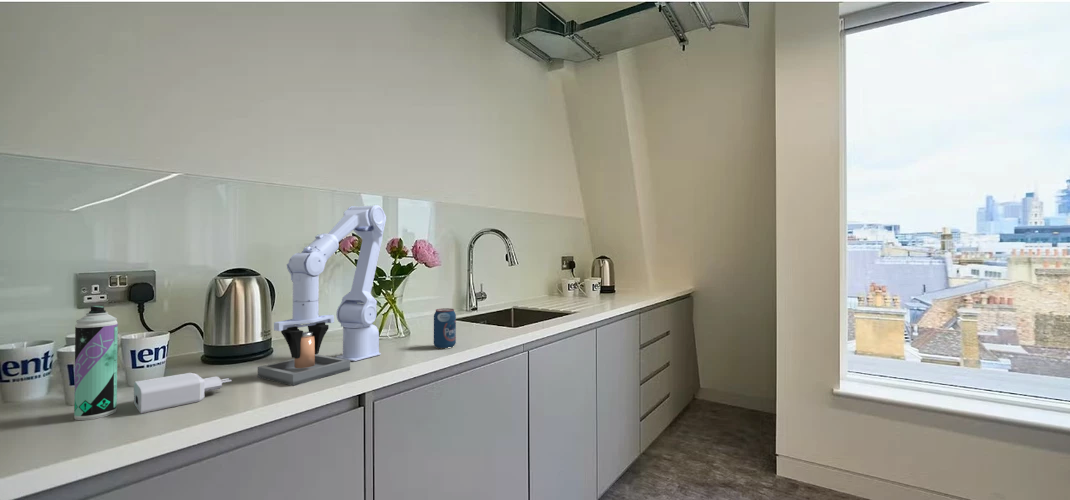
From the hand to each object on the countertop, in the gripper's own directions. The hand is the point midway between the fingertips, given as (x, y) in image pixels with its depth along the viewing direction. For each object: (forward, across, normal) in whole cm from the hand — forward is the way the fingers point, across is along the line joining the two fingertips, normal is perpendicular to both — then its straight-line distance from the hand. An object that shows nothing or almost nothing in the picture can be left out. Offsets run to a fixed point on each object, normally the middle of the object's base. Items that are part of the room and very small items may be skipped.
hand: (305, 355), depth 107 cm
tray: (+4, 0, 0) cm, 4 cm away
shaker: (+2, 0, 0) cm, 3 cm away
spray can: (+5, +36, -8) cm, 37 cm away
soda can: (+5, -40, +10) cm, 42 cm away
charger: (+5, +23, -4) cm, 24 cm away
